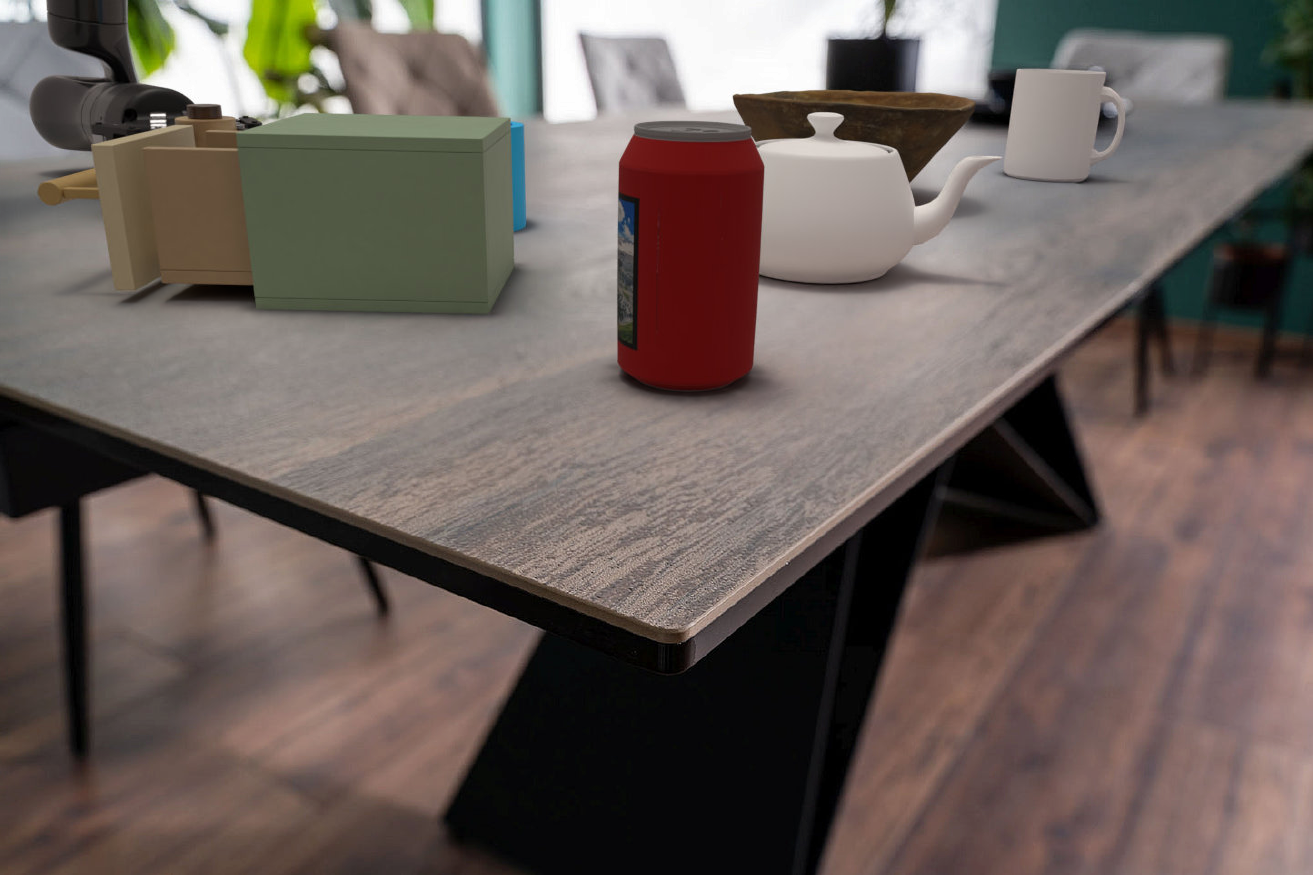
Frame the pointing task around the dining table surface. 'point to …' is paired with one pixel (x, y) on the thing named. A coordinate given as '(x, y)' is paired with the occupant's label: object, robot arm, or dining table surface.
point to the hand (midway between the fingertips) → (221, 146)
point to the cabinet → (378, 212)
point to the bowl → (862, 119)
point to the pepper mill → (206, 121)
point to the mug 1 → (518, 175)
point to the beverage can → (688, 254)
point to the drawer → (166, 207)
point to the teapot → (845, 206)
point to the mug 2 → (1058, 124)
